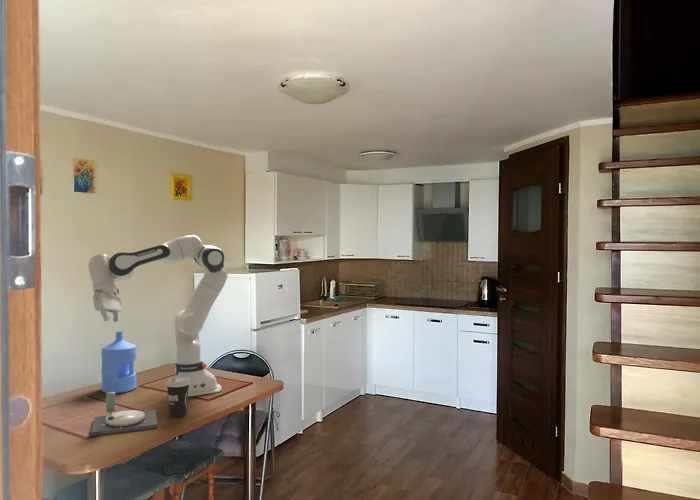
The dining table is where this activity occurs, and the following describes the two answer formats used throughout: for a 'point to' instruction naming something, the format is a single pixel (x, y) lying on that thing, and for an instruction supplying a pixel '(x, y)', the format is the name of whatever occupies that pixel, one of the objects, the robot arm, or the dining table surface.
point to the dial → (121, 413)
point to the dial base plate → (103, 428)
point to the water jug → (118, 366)
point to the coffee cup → (178, 396)
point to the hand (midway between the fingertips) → (111, 321)
